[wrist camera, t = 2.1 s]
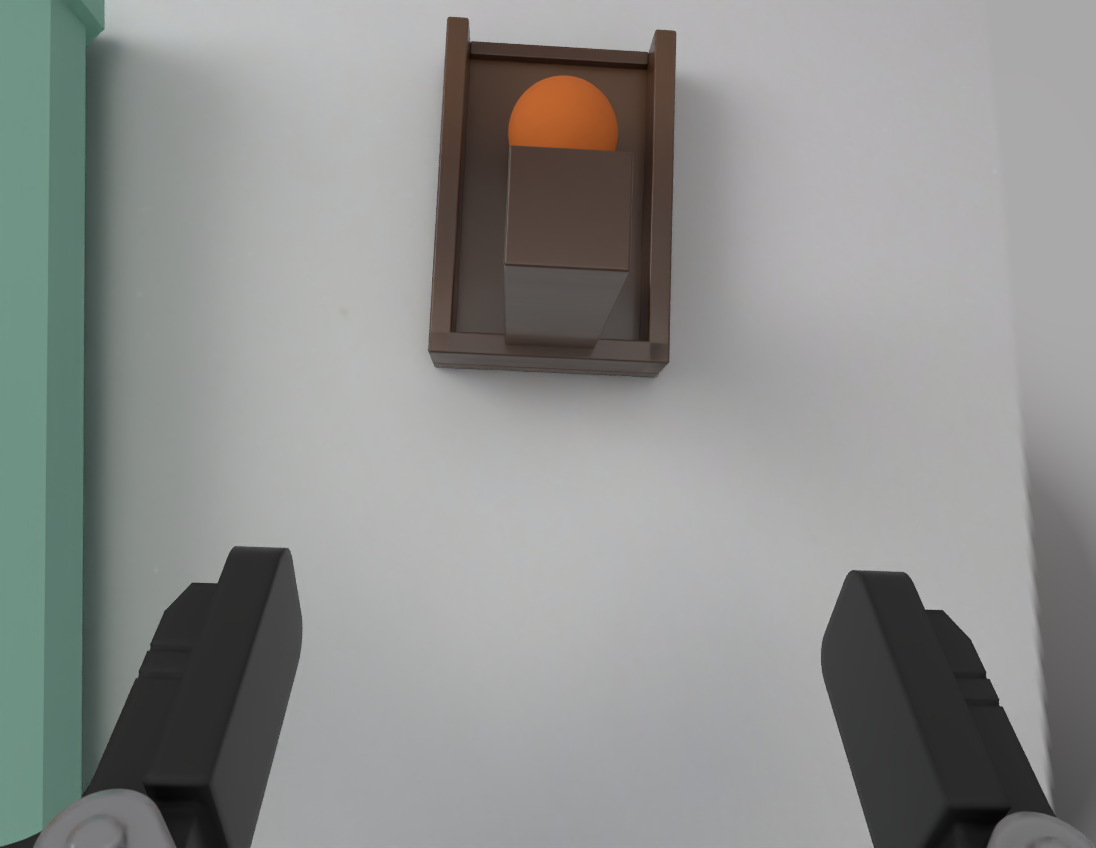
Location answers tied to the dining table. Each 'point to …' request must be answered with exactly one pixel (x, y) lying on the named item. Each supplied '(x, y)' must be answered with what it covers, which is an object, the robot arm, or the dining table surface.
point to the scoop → (553, 216)
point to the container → (41, 405)
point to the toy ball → (564, 116)
